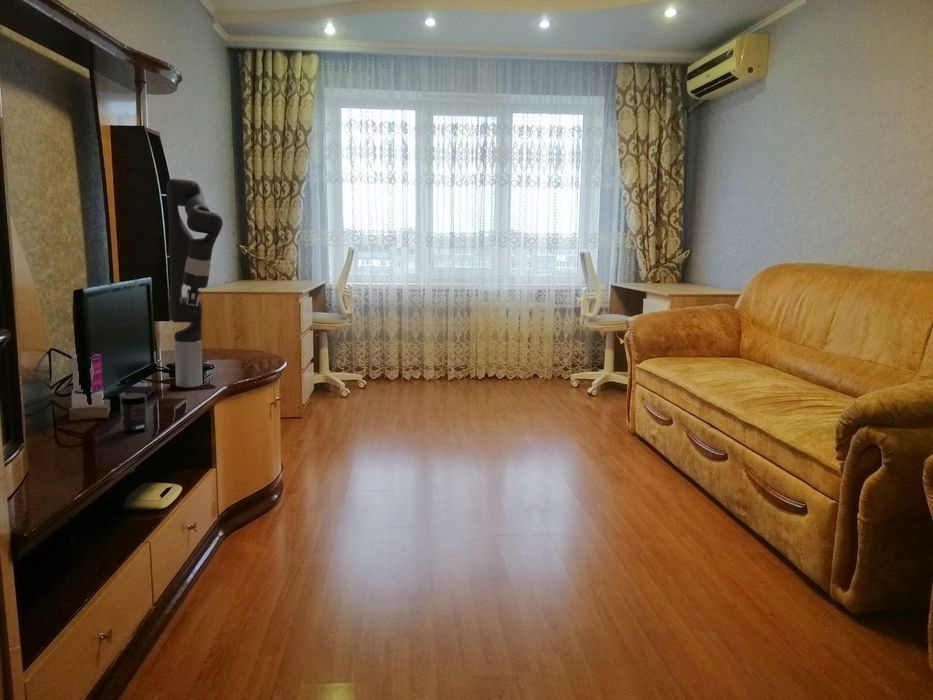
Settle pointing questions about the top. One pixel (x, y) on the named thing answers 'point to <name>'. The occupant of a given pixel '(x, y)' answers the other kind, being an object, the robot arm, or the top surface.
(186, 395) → the top surface
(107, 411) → the cream base block
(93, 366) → the supplement box
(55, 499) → the top surface
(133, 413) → the supplement container
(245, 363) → the top surface
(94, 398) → the pale grey top block
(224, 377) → the top surface
